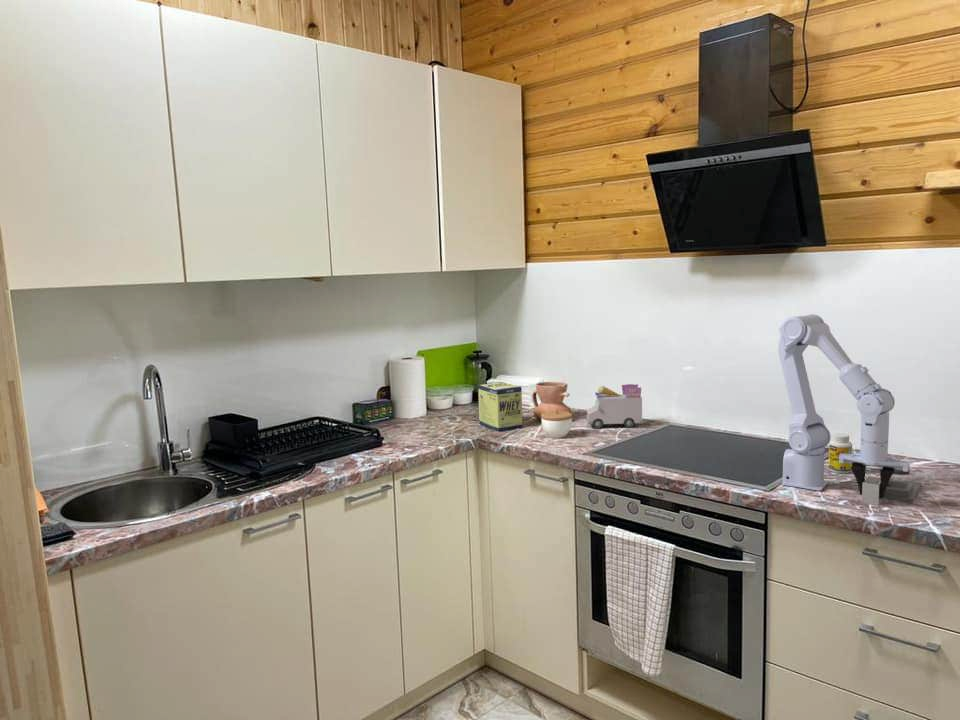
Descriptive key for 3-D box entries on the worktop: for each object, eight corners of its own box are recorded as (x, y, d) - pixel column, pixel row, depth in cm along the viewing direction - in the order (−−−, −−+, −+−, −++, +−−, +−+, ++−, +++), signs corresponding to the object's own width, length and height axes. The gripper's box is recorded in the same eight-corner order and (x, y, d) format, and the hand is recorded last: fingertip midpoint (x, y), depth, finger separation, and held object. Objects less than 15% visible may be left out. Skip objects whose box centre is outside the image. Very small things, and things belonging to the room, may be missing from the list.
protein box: (498, 432, 250) (497, 389, 248) (478, 424, 264) (477, 384, 262) (523, 428, 255) (522, 386, 253) (502, 420, 268) (501, 381, 266)
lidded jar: (578, 437, 239) (578, 410, 238) (551, 441, 234) (551, 414, 233) (561, 431, 248) (561, 405, 247) (535, 435, 244) (535, 408, 243)
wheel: (887, 473, 175) (887, 466, 175) (890, 468, 178) (890, 461, 178) (907, 475, 172) (908, 468, 172) (910, 471, 176) (910, 464, 175)
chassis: (869, 496, 170) (870, 486, 170) (880, 480, 182) (881, 471, 181) (912, 503, 165) (913, 493, 164) (921, 486, 176) (921, 476, 176)
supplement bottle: (824, 471, 192) (825, 434, 190) (834, 467, 195) (835, 431, 194) (845, 475, 187) (846, 438, 186) (855, 471, 190) (856, 434, 189)
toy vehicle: (585, 424, 258) (585, 384, 256) (638, 422, 257) (638, 382, 255) (588, 430, 249) (588, 388, 247) (643, 428, 248) (643, 387, 246)
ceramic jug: (581, 419, 265) (580, 382, 264) (556, 425, 256) (555, 387, 254) (546, 414, 279) (545, 379, 277) (521, 420, 269) (520, 383, 268)
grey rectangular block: (861, 502, 166) (862, 480, 166) (865, 497, 170) (866, 475, 169) (878, 505, 164) (879, 482, 163) (881, 500, 168) (882, 477, 167)
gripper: (836, 440, 166) (834, 494, 168) (907, 448, 157) (904, 505, 159) (843, 434, 172) (841, 487, 174) (911, 441, 163) (909, 497, 165)
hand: (872, 495), depth 167 cm, fingers closed on grey rectangular block, 3 cm apart
